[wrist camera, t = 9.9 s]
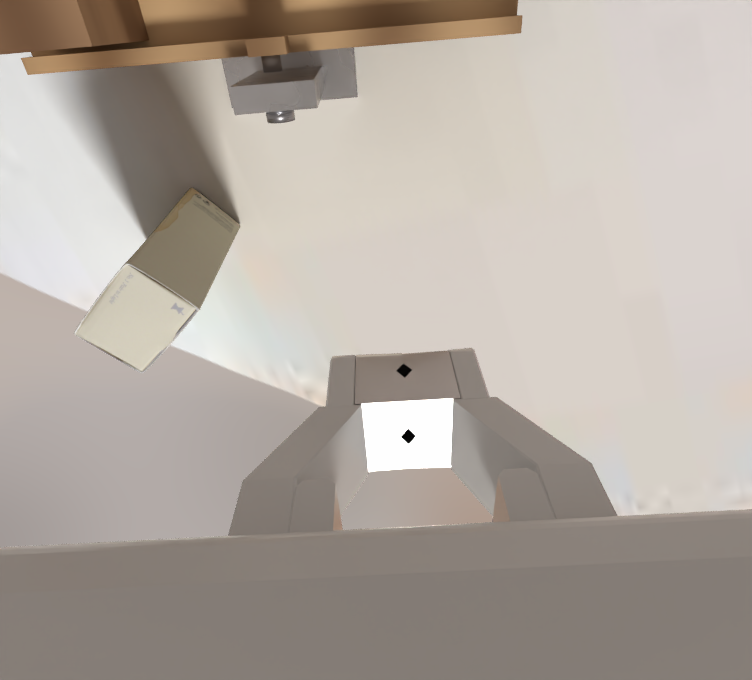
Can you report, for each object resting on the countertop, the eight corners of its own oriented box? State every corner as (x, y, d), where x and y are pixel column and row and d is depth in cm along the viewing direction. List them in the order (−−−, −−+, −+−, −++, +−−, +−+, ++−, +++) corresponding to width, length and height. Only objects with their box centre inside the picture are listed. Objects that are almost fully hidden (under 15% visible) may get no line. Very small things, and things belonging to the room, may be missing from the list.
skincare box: (192, 184, 34) (125, 255, 24) (244, 226, 36) (203, 308, 26) (145, 246, 36) (67, 333, 26) (196, 282, 38) (142, 377, 28)
